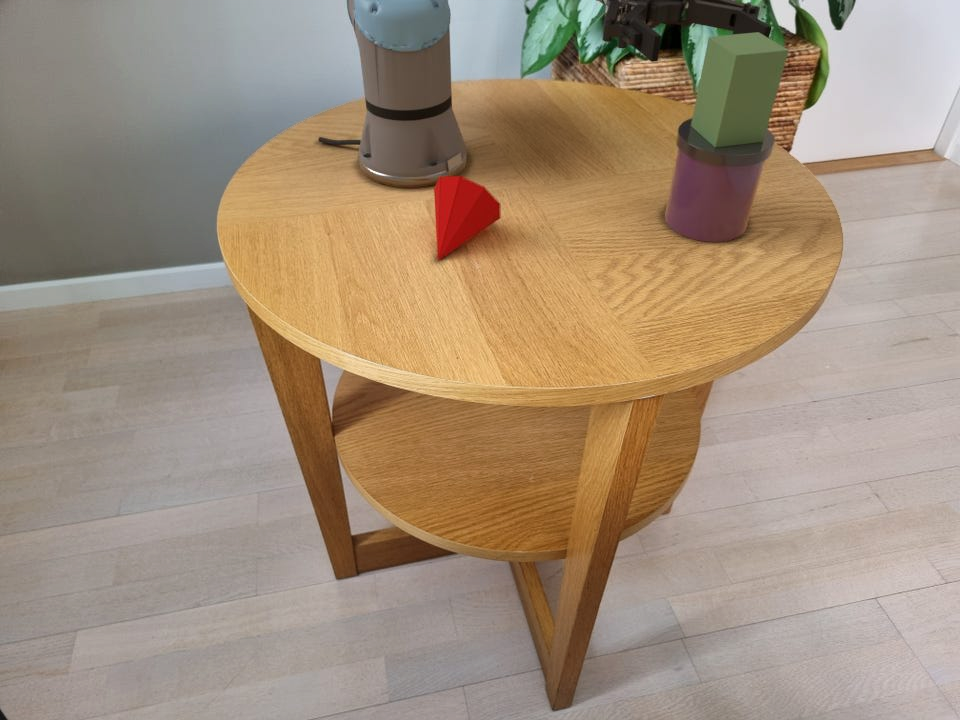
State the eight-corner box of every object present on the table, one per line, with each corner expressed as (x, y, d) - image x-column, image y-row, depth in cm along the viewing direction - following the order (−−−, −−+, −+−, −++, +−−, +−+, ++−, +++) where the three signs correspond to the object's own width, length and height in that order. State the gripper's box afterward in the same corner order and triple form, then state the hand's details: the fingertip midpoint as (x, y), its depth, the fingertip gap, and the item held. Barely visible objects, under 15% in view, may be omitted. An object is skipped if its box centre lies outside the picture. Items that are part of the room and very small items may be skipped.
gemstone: (482, 266, 78) (515, 195, 81) (413, 228, 77) (449, 158, 80) (461, 290, 87) (492, 226, 90) (398, 256, 85) (431, 192, 88)
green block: (714, 148, 78) (736, 55, 71) (690, 126, 82) (708, 36, 75) (763, 142, 79) (789, 50, 72) (736, 120, 83) (758, 31, 76)
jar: (657, 236, 85) (674, 148, 78) (665, 194, 93) (681, 110, 85) (749, 249, 83) (776, 160, 75) (749, 205, 91) (774, 120, 83)
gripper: (716, 16, 100) (799, 68, 84) (549, 30, 96) (605, 87, 80) (729, -43, 95) (819, 0, 79) (553, -32, 91) (613, 17, 75)
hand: (712, 44), depth 80 cm, fingers open, 13 cm apart
